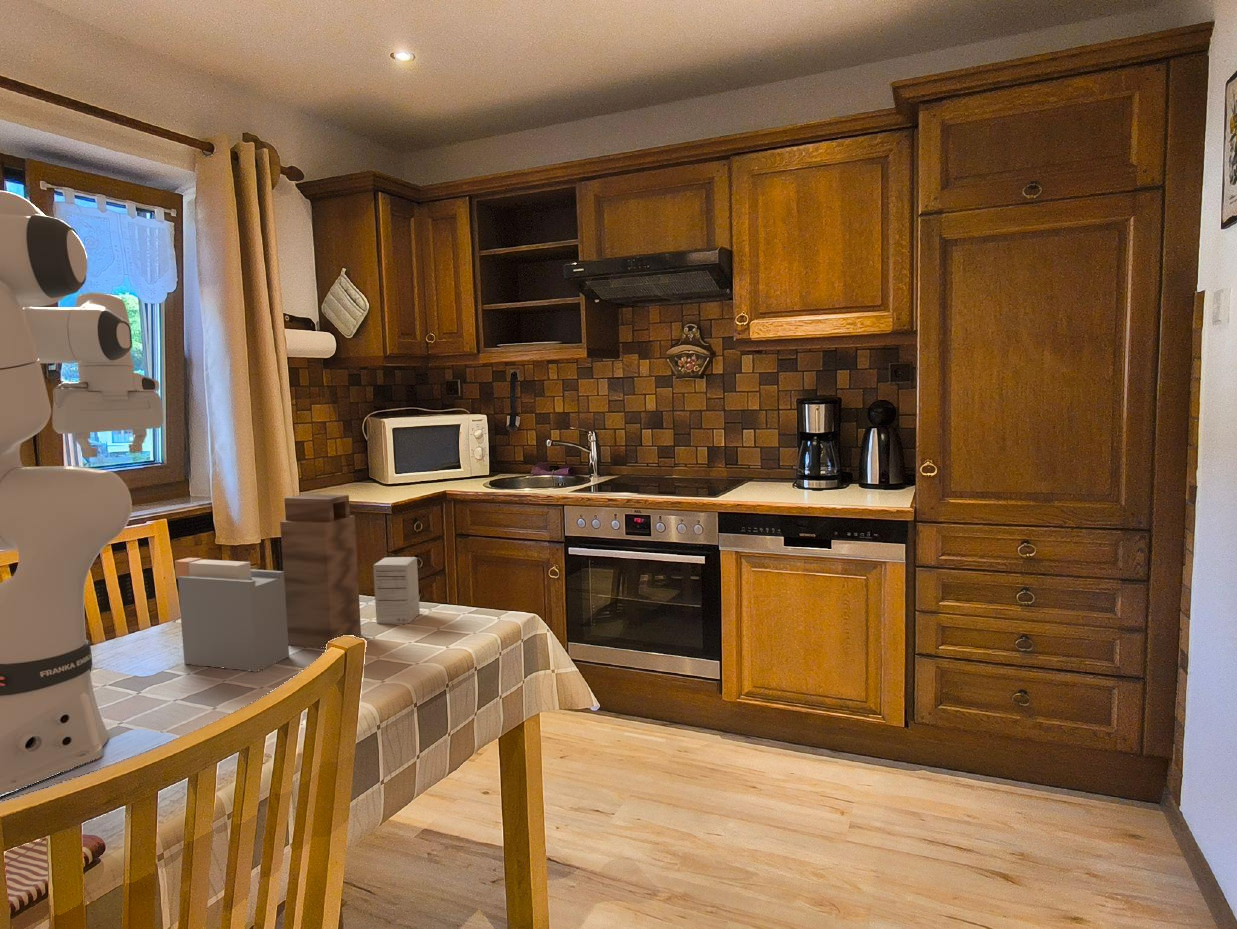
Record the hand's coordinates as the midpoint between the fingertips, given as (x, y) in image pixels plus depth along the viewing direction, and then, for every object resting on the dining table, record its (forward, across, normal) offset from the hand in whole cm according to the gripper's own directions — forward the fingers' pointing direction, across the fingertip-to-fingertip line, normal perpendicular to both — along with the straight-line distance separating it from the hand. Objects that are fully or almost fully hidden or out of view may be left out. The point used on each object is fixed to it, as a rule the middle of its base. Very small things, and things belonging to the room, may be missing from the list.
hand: (113, 455), depth 147 cm
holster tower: (+37, +12, -36) cm, 53 cm away
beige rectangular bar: (+22, -2, -24) cm, 33 cm away
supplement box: (+37, +28, -42) cm, 63 cm away
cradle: (+37, -2, -28) cm, 46 cm away
